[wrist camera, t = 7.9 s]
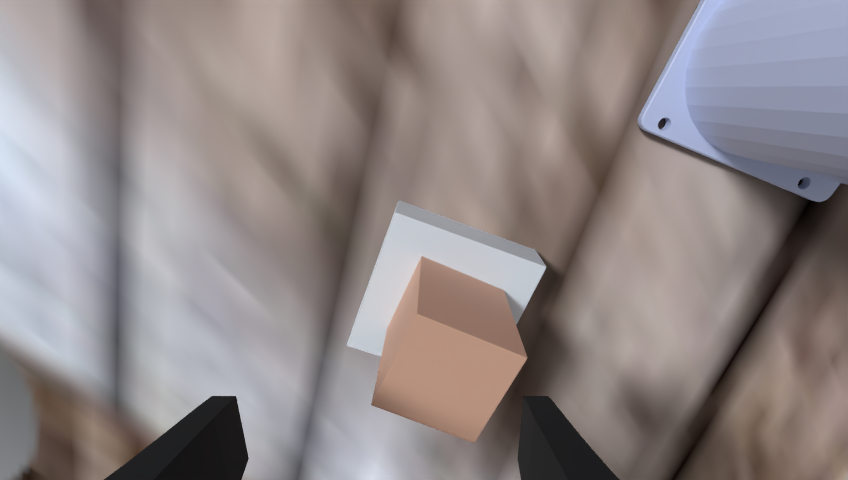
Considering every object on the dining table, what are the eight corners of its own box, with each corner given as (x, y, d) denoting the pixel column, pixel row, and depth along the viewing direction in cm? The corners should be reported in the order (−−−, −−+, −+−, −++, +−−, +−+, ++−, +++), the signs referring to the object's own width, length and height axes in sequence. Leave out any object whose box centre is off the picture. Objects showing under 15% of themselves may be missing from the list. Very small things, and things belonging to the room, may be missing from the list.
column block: (503, 290, 18) (527, 358, 14) (464, 359, 20) (474, 443, 15) (421, 255, 18) (416, 313, 13) (386, 328, 19) (371, 405, 14)
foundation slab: (533, 246, 20) (546, 267, 18) (477, 358, 23) (483, 389, 20) (399, 197, 20) (395, 212, 17) (355, 318, 22) (346, 345, 20)
